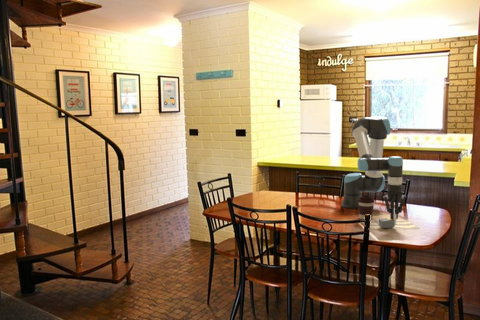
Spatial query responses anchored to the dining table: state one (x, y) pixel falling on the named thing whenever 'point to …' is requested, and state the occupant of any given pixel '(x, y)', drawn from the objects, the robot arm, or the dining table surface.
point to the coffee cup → (365, 206)
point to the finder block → (386, 223)
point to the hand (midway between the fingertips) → (394, 224)
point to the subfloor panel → (399, 225)
